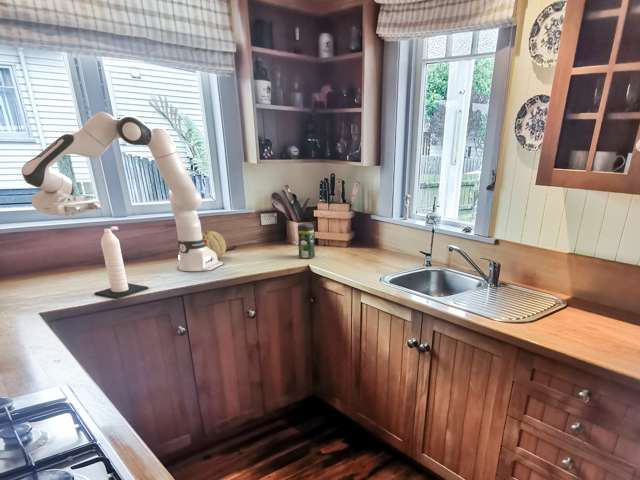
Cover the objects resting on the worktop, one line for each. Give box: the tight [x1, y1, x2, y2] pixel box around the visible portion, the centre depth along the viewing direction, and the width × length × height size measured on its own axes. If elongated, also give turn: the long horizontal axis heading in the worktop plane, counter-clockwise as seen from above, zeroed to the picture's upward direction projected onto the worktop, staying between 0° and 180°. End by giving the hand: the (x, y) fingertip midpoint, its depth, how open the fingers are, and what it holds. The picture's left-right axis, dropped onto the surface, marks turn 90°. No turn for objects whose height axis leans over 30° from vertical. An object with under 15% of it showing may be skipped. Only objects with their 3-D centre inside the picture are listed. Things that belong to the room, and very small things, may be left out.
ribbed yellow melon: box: [202, 230, 227, 259], centre depth 247 cm, size 15×15×15 cm
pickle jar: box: [297, 222, 316, 260], centre depth 257 cm, size 10×8×19 cm
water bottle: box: [100, 226, 129, 292], centre depth 188 cm, size 9×6×25 cm
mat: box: [94, 282, 149, 299], centre depth 194 cm, size 16×12×1 cm
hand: (88, 208), depth 188 cm, fingers open, 8 cm apart
